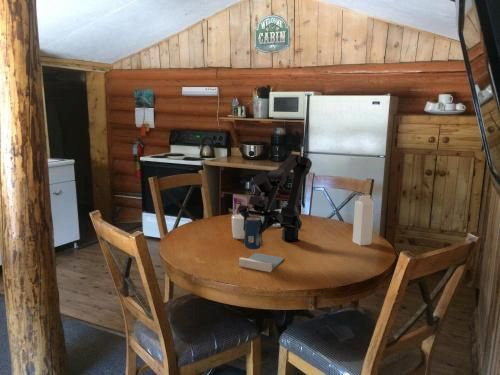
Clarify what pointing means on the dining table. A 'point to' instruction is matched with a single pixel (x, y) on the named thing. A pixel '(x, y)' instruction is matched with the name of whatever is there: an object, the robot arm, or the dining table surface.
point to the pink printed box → (240, 202)
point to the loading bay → (260, 262)
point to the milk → (363, 220)
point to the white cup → (238, 226)
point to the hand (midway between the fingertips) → (251, 232)
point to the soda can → (253, 233)
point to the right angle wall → (273, 224)
